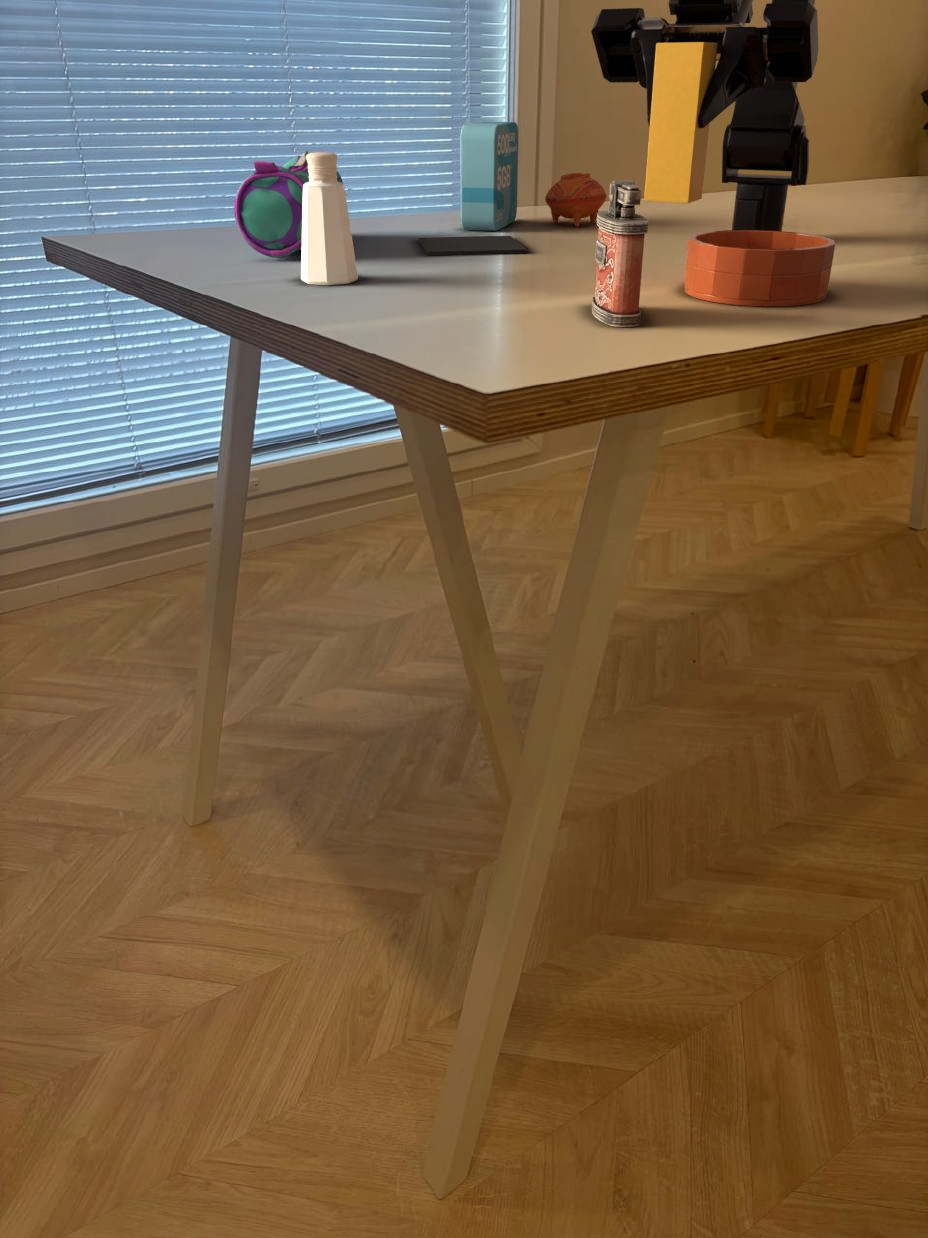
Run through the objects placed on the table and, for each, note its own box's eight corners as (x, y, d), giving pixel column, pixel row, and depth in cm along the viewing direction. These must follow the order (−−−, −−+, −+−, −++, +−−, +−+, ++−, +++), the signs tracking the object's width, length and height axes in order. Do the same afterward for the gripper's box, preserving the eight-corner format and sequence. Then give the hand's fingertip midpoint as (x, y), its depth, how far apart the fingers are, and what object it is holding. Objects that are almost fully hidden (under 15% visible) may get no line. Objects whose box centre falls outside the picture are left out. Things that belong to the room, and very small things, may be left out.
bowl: (719, 275, 96) (725, 226, 94) (845, 289, 89) (854, 236, 87) (660, 295, 87) (665, 241, 85) (794, 312, 81) (803, 254, 79)
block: (658, 196, 90) (671, 43, 84) (701, 198, 88) (718, 42, 82) (643, 201, 87) (656, 42, 81) (688, 203, 85) (704, 41, 79)
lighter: (584, 306, 83) (591, 176, 79) (624, 305, 84) (633, 176, 79) (604, 327, 76) (613, 186, 72) (648, 326, 77) (660, 185, 72)
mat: (418, 240, 117) (418, 237, 117) (509, 238, 119) (509, 235, 118) (427, 255, 108) (427, 251, 108) (527, 252, 109) (527, 249, 109)
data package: (494, 232, 123) (496, 124, 118) (460, 231, 125) (459, 124, 119) (517, 220, 134) (519, 121, 128) (484, 219, 135) (485, 120, 129)
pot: (615, 224, 127) (606, 168, 124) (555, 240, 128) (545, 185, 124) (605, 214, 134) (596, 161, 130) (548, 230, 135) (538, 177, 131)
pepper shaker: (326, 287, 91) (317, 155, 86) (289, 280, 95) (278, 153, 89) (369, 279, 95) (364, 152, 90) (332, 273, 98) (325, 150, 93)
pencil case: (276, 234, 123) (268, 148, 118) (347, 234, 122) (342, 148, 118) (235, 261, 104) (225, 161, 100) (319, 261, 104) (312, 161, 99)
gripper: (606, -103, 83) (547, 46, 80) (836, -123, 76) (781, 42, 72) (631, 11, 93) (580, 147, 90) (836, 4, 86) (788, 153, 82)
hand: (674, 123), depth 84 cm, fingers closed on block, 4 cm apart
